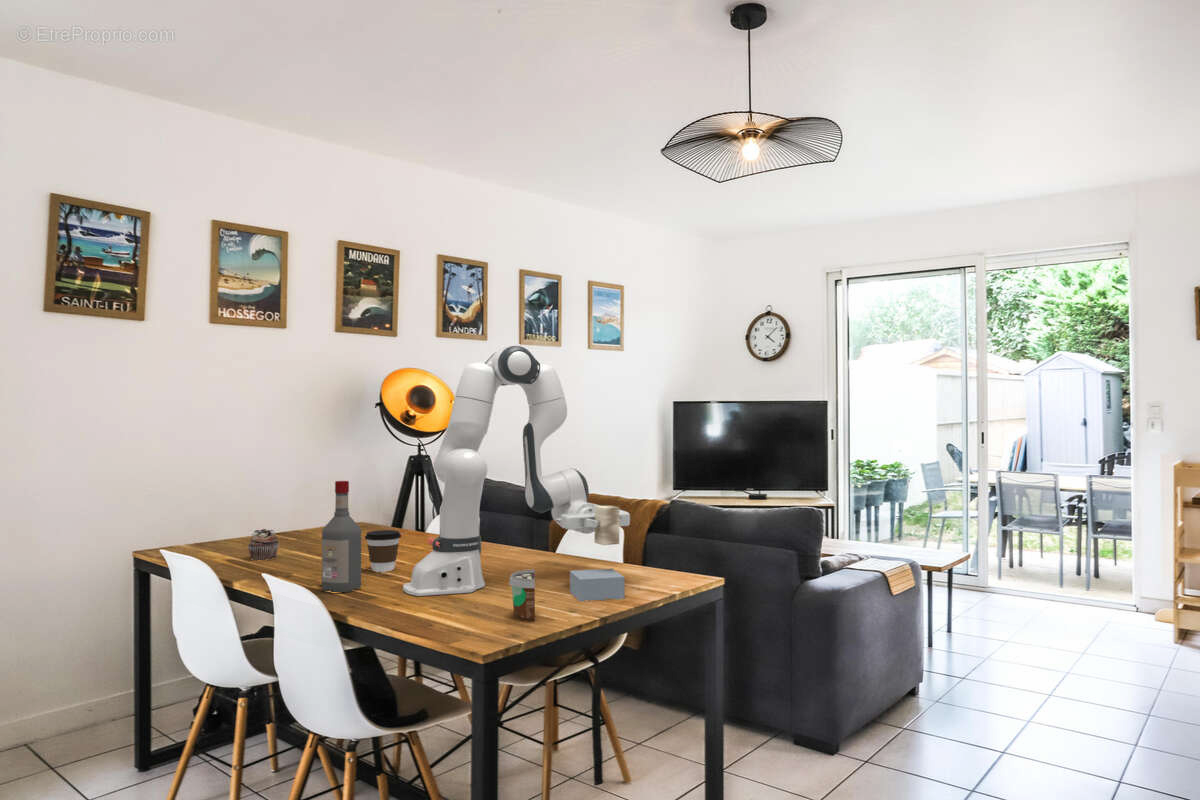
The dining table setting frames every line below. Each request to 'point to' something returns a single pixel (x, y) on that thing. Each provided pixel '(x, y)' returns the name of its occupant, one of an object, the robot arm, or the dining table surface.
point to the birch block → (607, 525)
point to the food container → (523, 594)
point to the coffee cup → (383, 549)
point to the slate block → (596, 584)
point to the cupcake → (263, 545)
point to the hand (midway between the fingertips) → (608, 523)
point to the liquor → (341, 547)
